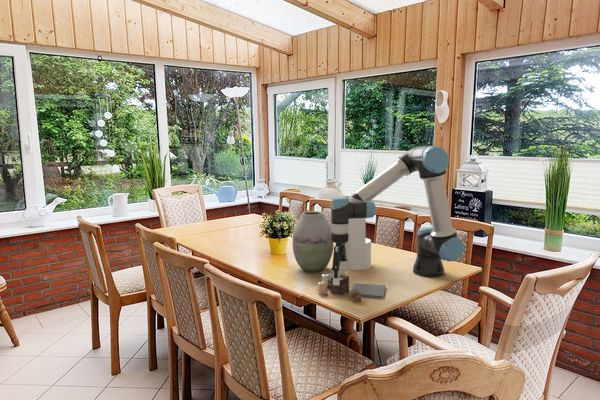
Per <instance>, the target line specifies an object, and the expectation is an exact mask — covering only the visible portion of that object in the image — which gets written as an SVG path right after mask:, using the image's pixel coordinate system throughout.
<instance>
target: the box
mask: <svg viewBox="0 0 600 400" xmlns="http://www.w3.org/2000/svg"><path fill="white" fill-rule="evenodd" d="M347 293H350V276H348V275H345V276H344V275H340V283H339V285H333V277H331V289H330V294H332V295H337V296H339V297H343V296H345V295H346V294H347Z"/></svg>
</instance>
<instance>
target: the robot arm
mask: <svg viewBox="0 0 600 400" xmlns="http://www.w3.org/2000/svg"><path fill="white" fill-rule="evenodd" d="M449 164H450V156H449V154H448V153H447V151H446V150H445V149H444V148H443V147H440V146H436V145H418V146H414V147H412V148H410V149H408V150H406V152H404V153H403V154H402V155H400V156H398V157H397V158H396V159H395V160H394V163H393V164H392V165H390V166H389V167H387V168H386V169H384V170H383V171H382V172H381V173H380V174H379V173H378V175H377V176H375V177H374V178H372V179H371V180H370V181H368V182H366V184H364V185H363V186H361V187H360V188H359V189H357V190H356V191H355V192H354V193H352V194H350V195H349V196H333V198H331V203H330V204H331V205H330V211H331V214H330V215H331V216H330V217H331V220H330V221H331V222H330V227H331V232H332V233H331V241H332V242H333V243H334V244H335V245H334V246H333V253H332V256H333V257H332V267H331V268H330V270H331V271H332V274H333V285H339V283H340V275H344V276H346V269H345V262H344V261H347V259H346V250H345V243H346V242H348V232H349V219H355V218H366V219H370V218H371V219H372V218H374V217H375V215H376V214H377V207H376V204H375V202H374V201H372V200H373V199H375V198H376V197H377V196H379V195H380V194H382V193H383V192H384V191H386V190H387V189H388V188H389V187H391V186H392V185H393V184H395V183H397V182H398V181H399V180H400V179H402V178H403V177H404V176H407V177H408V176H410V175H411V174H412V173H415V172H418V174H419V175H418V176H419V178H420V180H422V181H423V183H424V189H425V193H426V194H425V195H426V199H427V203H428V209H429V215H430V220H431V225H432V226H431V227H430V226H427V227H420V228H418V230H417V234H416V239H417V241H416V243H417V244H416V259H415V261H414V263H413V267H412V272H413V274H415V275H417V276H421V277H424V278H425V277H427V278H437V277H443V276H444V275H445V267H444V264H443V261H446V262H455V261H457V260H458V259H460V257H461V256H462V255H463V253H464V250H465V244H464V242H463V240H462V239H461V238H459V237H458V233H457V229H456V228H454V227H453V224H452V219H451V213H450V207H449V206H450V205H449V203H448V202H449V201H448V200H449V199H448V197H447V195H448V194H447V190H446V184H445V178H444V177H445V176H446V174H447V169H448V166H449Z"/></svg>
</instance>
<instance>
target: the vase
mask: <svg viewBox="0 0 600 400" xmlns="http://www.w3.org/2000/svg"><path fill="white" fill-rule="evenodd" d="M330 225H331V223H330V222H329V221H328V220H327V218H326V216H325V214H324V212H322V211H318V210H317V211H316V210H314V211H313V210H312V211H311V210H310V211H303V212H302V213H301V214H300V217H299V219H298V221H297V222H296V224H295V225H294V227H293V232H292V251H293V255H294V258H295V261H296V263H297V265H298V266H299V268H300V269H301V270H302V271H303V272H305V273H315V274H316V273H320V272H321V273H322V272H323V271H324V270H325V269H326V268H327V267H328V266H329V263H330V262H331V259H332V256H333V254H334V244H335V242H332V241H331V233H332V232H331V228H332V227H330Z"/></svg>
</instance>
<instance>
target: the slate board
mask: <svg viewBox="0 0 600 400" xmlns="http://www.w3.org/2000/svg"><path fill="white" fill-rule="evenodd" d="M354 289H360V291H361V298H368V299H370V298H371V299H380V300H383V299H384V296H385V292H386V289H387V287H386V285H385V284H384V285H383V284H371V283H360V282H355V283H354V285H353V286H352V288H351V290H354Z"/></svg>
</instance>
